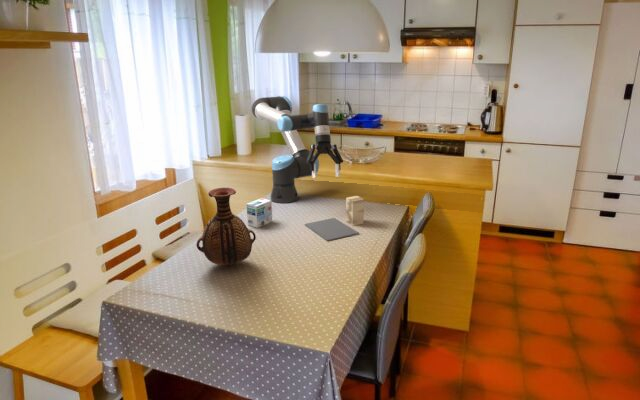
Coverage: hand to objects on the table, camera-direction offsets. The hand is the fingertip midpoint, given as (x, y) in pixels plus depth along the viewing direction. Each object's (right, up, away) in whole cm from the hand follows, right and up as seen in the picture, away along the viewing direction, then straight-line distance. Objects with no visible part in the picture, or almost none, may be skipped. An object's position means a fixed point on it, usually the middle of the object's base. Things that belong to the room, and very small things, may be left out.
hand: (326, 177), depth 234 cm
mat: (+2, -25, -20) cm, 32 cm away
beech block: (+13, -22, -12) cm, 28 cm away
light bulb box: (-32, -23, -11) cm, 40 cm away
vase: (-38, -37, -53) cm, 75 cm away
